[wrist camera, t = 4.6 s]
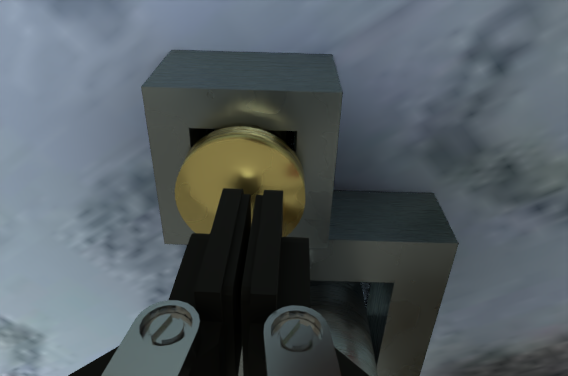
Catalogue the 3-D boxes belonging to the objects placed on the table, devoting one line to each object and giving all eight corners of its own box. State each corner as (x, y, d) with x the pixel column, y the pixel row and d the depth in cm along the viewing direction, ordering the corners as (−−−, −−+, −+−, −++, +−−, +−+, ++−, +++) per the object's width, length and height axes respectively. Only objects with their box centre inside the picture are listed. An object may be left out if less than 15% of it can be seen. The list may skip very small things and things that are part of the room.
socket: (466, 58, 17) (510, 97, 13) (397, 342, 25) (414, 410, 22) (171, 49, 17) (141, 86, 13) (202, 337, 25) (188, 404, 22)
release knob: (304, 85, 17) (309, 143, 13) (299, 177, 19) (302, 251, 15) (197, 82, 17) (167, 139, 13) (205, 174, 19) (181, 248, 15)
